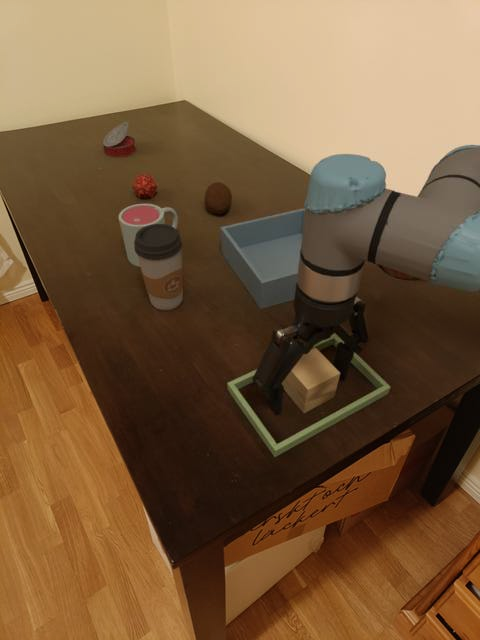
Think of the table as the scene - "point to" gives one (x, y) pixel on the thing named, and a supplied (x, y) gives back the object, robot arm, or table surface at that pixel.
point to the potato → (218, 198)
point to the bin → (266, 255)
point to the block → (311, 381)
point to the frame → (320, 425)
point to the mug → (141, 224)
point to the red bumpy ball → (144, 186)
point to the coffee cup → (161, 264)
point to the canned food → (119, 142)
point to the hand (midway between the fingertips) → (307, 390)
